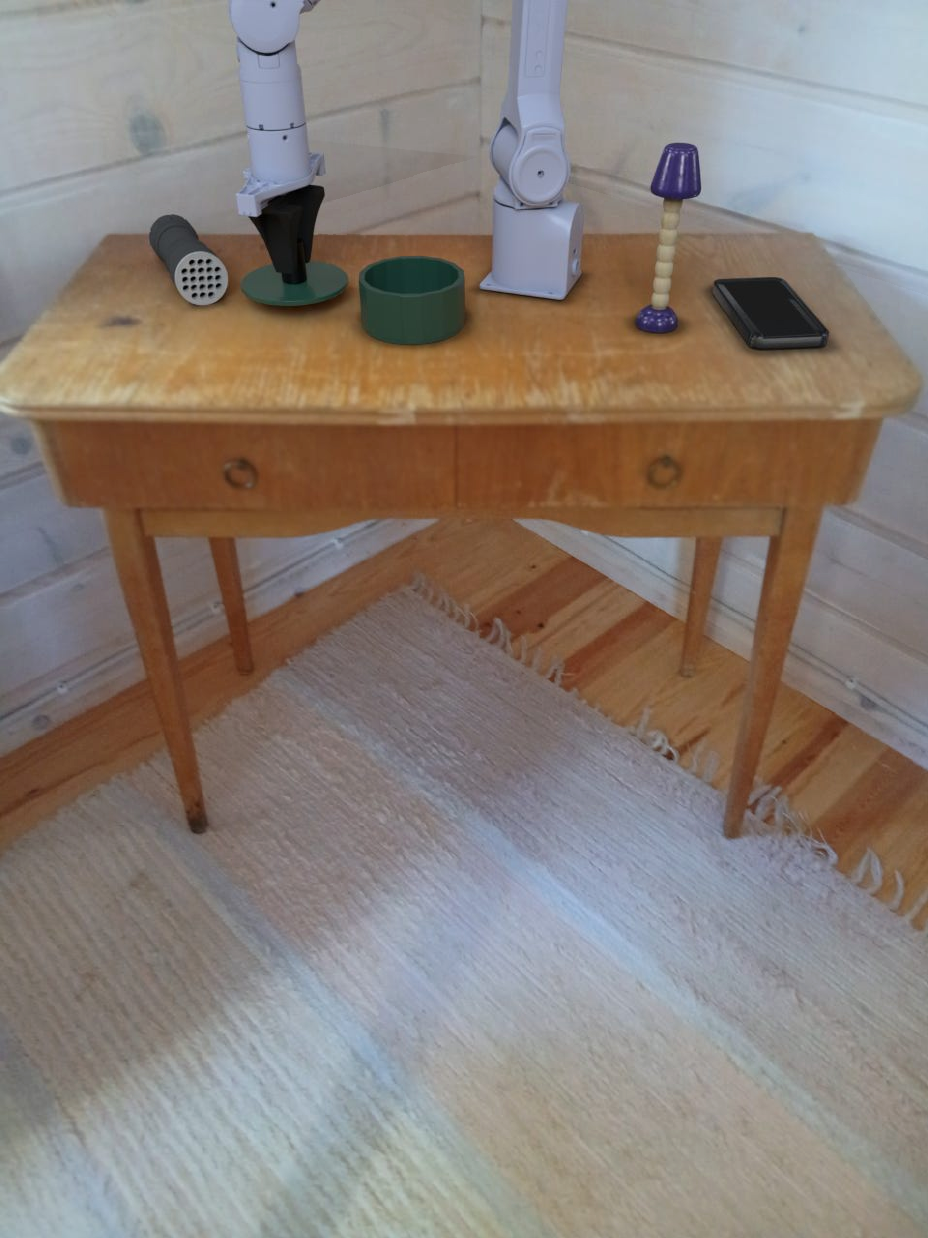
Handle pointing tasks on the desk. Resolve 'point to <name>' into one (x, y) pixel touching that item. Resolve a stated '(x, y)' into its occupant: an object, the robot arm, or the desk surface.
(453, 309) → the pot
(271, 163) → the robot arm
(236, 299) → the desk surface
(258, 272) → the lid
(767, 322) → the phone
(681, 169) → the toy lamp
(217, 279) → the flashlight
